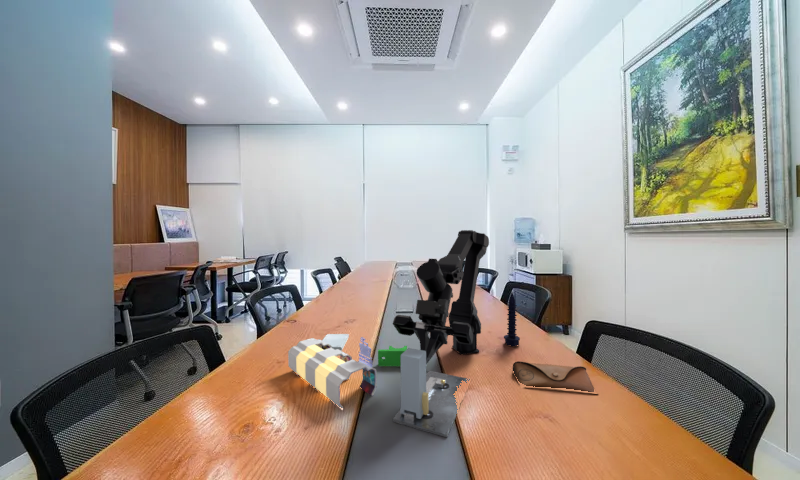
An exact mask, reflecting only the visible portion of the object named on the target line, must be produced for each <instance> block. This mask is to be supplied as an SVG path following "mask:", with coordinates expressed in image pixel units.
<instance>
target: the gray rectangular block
mask: <svg viewBox="0 0 800 480" xmlns="http://www.w3.org/2000/svg"><path fill="white" fill-rule="evenodd" d="M426 375H427V365H426V351H423V350H421V349H416V348H412V347H407V350H406V351H405V352H403V353H402V354H401V366H400V409H399V410H400V414H404V413H405V412H406V410H407V411H411V412H414V413H416V418H418V419H421V418H422V416H423V414H424V415H427V414H428V413H429V394H428V393H426Z"/></svg>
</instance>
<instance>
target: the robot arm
mask: <svg viewBox="0 0 800 480" xmlns="http://www.w3.org/2000/svg"><path fill="white" fill-rule="evenodd" d="M489 243H490V240H489V236H488V235H486V233H484V232H483V233H482V232H477V231H476V230H473V229H469V230H467V229H466V230H465V229H464V230H463V229H462V230H459V231H458V234H457V237H456V239H455V241H454V243H453V245H452V247H451V248H450V250H449V252H448V253H447V254H446V255H445V256H443V257H440V258H439V260H438V259H437V258H428V261H426V262H424V263H421V265H419V267H417V269H416V277H417V279H418V280H419V282H420V283H421V285H422V287H423V288H424V290H425V291H426V292H427V293H428V297H427V299H425V300H424V299H417V301H416V307H415V312H414V313H415V314H416V315H418V320H420V321H417V320H416V321H414V320H413V318H412V316H411V315H403V314H396V316H395V317H393V321H392V325H393V326H394V328H395V330H396V331H397V333H398V334H400V335H404V336H408V337H409V336H412V335H414V334H415V336H416V337H417V339H418V340H419V346H420V350H423V351H426V366H427V365H428V363H430V361H431V360H432V358H433V356H434V355H435V354H436V353H437V351H438V350H439V349H441V348H442V347H443V346H444V345H448V336H452V345H451V347H452V348H453V350H454V351H456V352H457V351H458V352H459V353H458V352H457V353H458V354H460V355H461V354H463V355H468V354H467V353H470V354H476V353H475V352H478V353H480V350H479V349H478V347H477V346H478V345H477V343H478V341H477V340H478V339H477V338H478V335H480V334H481V333H482V331H481V330H482V323H481V320H480V318H479V316H478V310H477V307H476V304H475V303H474V302H475V301H474V300H475V294H476V287H477V282H478V281H477V280H478V275H479V268H480V261H481V259H482V258H483V257H484V256H485V255H486V253H487V249H488V247H489V245H490V244H489ZM463 263H464V264H463ZM460 283H461V284H460ZM459 284H460V289H459V296H458V298H457V299H456V300H454V301H452V303H451V298H452V299H453V297H454V293H453V287H452V285H459ZM450 304H451V307H450ZM449 308H451V309H450V312H449ZM447 319H448V322H449V323H448V324H449V326H448V325H447V326H446V323H447Z"/></svg>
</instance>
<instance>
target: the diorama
mask: <svg viewBox="0 0 800 480" xmlns="http://www.w3.org/2000/svg"><path fill="white" fill-rule="evenodd" d="M322 340H323V339H322ZM322 340H321V339H318V338H317V339H316V338H314V337H312V338H308V339H304V340H300V341H299V342H298V343H297V344H296V345H294V346H291V348H290V349H289V350H288V352H287V354H288V357H287V358H288V359H287V360H288V367H289V369H291V370H293V371H294V372H296V373H297V374H298V375H300V376H301V377H302V378H303V379H305V380H306V381H307V382H308V383H310V384H311V385H312V386H314V387H315V388H316V389H317V390H319V391H320V392H321V393H323V394H324V395H325V396H326V397H328V398H329V399H330V400H332V401H333V402H334V403H335V404H337V405H338V406H339V407H341V408H343V407H344V406H343V405H342V404H341V402H340V400H341V399H340V398H341V384H342V383H343V382H344V381H348V380H347V379H349V380H350V378H351V375H352V374H353V373H357V372H359V371H361V370H362V380H361V383H360V385H359V388H360V387H361V388H362V389H361V390H362V391H364V392H365V393H366V394H368V395H370V396H374V394H375V392H376V389H377V387H378V386H377V384H378V383H377V381H378V380H377V377H378V376H377V372H378V371H377V369H376V368H374V367H373V360H372V359H373V357H371V354H372V347H370V346H369V343H367V342H366V338H364V336H360V342H358V345H359V349H360V351H359V352H358V357H359V358H358V361H357V360H355V359H353V356H351V355H349V353H346V352H344V351H343V350H339V349H336V350H335V349H333V348H332V346H331V345H329V344H327V343H325V342H323V341H322ZM338 356H340V357H338ZM293 371H292V372H293ZM294 372H293V373H294ZM297 374H296V375H297ZM298 375H297V376H298ZM302 378H301V379H302ZM303 379H302V380H303ZM307 382H306V383H307ZM308 383H307V384H308ZM311 385H310V386H311ZM312 386H311V387H312ZM316 389H315V390H316ZM317 390H316V391H317ZM321 393H320V394H321ZM326 397H325V398H326ZM330 400H329V401H330ZM335 404H334V405H335Z"/></svg>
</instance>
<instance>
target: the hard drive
mask: <svg viewBox="0 0 800 480" xmlns="http://www.w3.org/2000/svg"><path fill="white" fill-rule="evenodd" d="M349 337H350V334H349V333H328V334H326V335H325V336H324V337H323V339H322V341H323V342H325V343H327V344H329V345H331V346H332V348H333V349H335V350H336V349H339V350H341V351H343V349H344V347H345V345H346V343H347V341H348V339H349Z"/></svg>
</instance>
